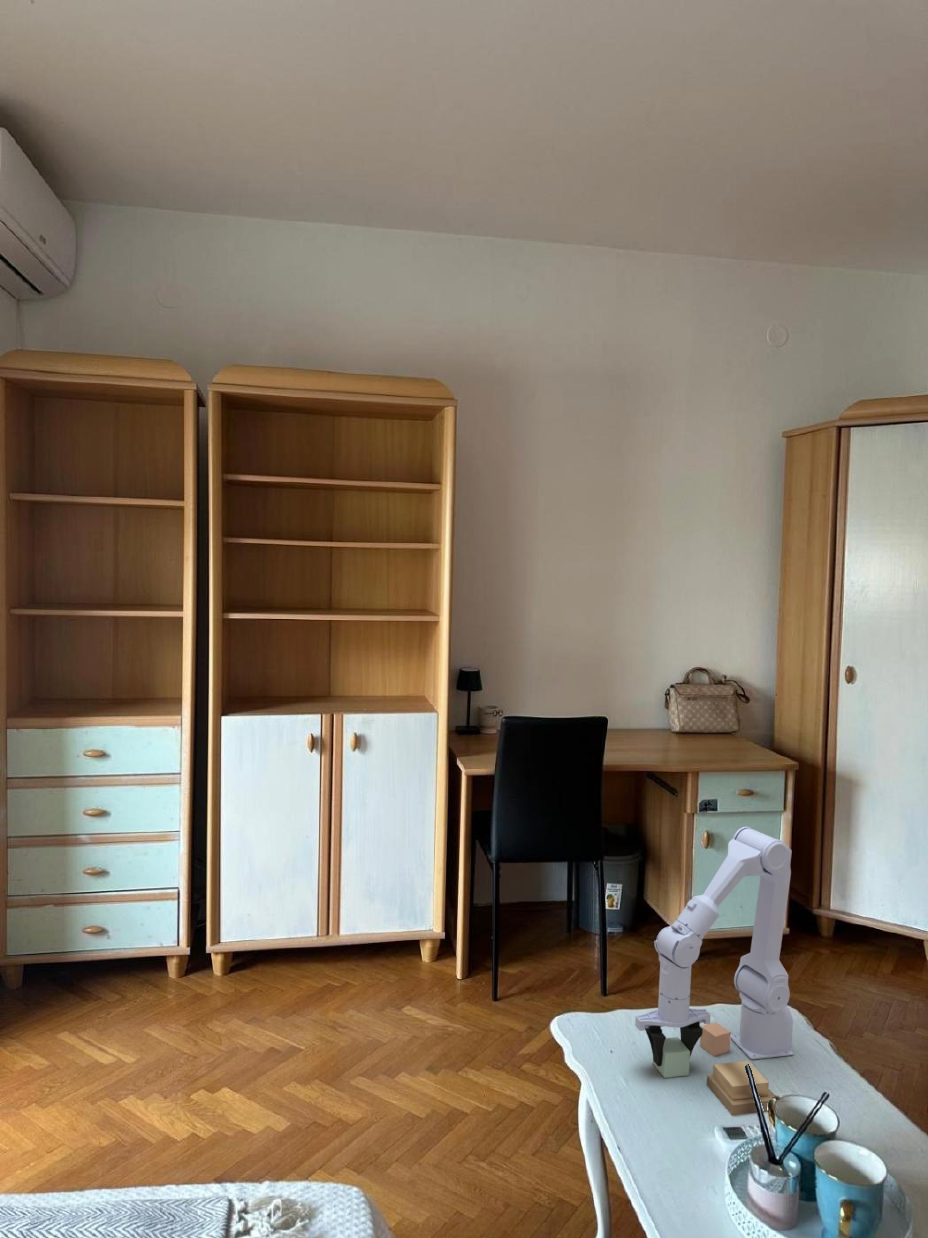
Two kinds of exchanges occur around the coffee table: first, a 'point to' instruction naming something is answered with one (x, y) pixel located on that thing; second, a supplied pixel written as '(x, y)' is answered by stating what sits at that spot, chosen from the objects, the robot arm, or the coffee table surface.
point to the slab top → (739, 1079)
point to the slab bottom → (738, 1104)
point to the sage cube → (674, 1058)
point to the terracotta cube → (715, 1039)
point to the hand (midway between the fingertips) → (670, 1061)
